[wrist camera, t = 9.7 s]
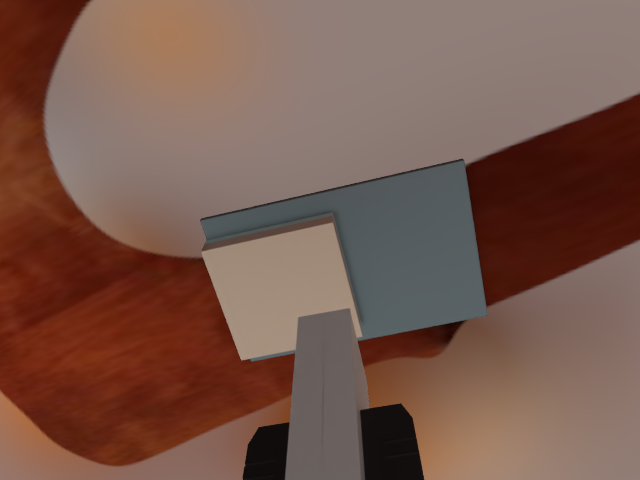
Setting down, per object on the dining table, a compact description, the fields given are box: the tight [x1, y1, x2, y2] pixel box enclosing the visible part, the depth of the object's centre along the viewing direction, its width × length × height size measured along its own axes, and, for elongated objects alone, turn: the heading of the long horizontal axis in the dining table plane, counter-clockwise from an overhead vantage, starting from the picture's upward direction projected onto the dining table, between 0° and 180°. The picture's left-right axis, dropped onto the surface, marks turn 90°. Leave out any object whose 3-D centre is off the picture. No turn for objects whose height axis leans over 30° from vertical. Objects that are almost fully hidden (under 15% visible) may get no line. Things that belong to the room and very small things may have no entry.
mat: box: [200, 159, 487, 362], centre depth 40 cm, size 18×12×1 cm, turn 104°
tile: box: [201, 212, 363, 360], centre depth 40 cm, size 2×9×9 cm
